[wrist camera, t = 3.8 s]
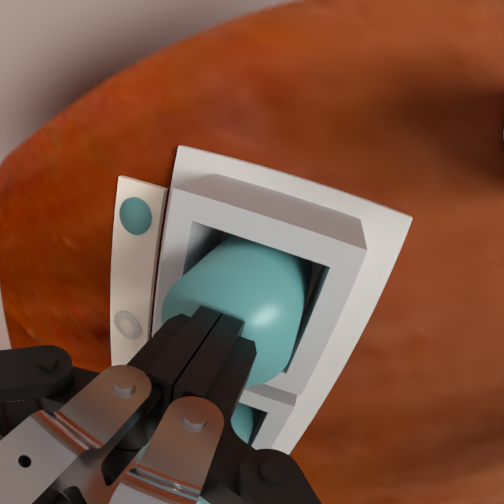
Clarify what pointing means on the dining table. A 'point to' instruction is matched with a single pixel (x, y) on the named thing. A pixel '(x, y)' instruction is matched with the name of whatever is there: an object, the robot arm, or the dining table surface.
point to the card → (134, 264)
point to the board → (294, 242)
